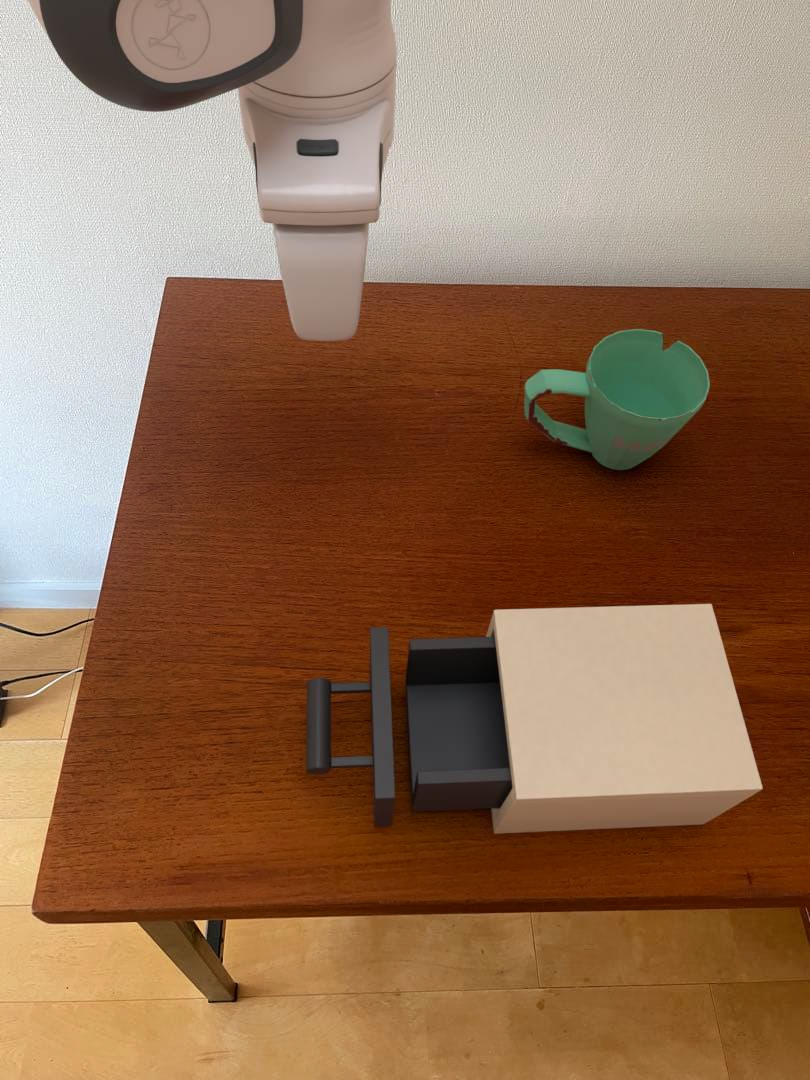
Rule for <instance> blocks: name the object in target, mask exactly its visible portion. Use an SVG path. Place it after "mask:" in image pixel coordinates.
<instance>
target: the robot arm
mask: <svg viewBox="0 0 810 1080" xmlns="http://www.w3.org/2000/svg"><path fill="white" fill-rule="evenodd" d="M27 2H28V4H29V5H30V8H31V9H32V11H33V13H34V15H35V17H36V18H37V20H38V22H39V24H40V26H41V28H42V29H43V30H44V33H45V34H46V36H47V37H48V40H49V41H50V43H51V45H52V47H53V49H54V50H55V52H56V54H57V55H58V57H59V58H60V60H61V61H62V63H63V64H64V66H65V67H66V68H67V69H68V70H69V71H70V73H71V74H72V75H73V76H74V77H75V78H76V79H77V80H78V81H79V82H80V83H81V84H83V86H85V87H86V88H87V89H89V90H90V91H92V92H93V93H95V95H97V96H99V97H101V98H103V99H104V100H107V102H108V101H109V102H110V103H113V104H115V105H118V106H120V107H123V108H127V109H130V110H134V111H138V112H139V111H140V112H152V113H159V112H160V113H161V112H171V111H176V110H180V109H183V108H187V107H190V106H192V105H196V104H199V103H201V102H204V101H208V100H210V99H214V98H216V97H219V96H221V95H224V94H227V93H229V92H231V91H234V90H236V89H237V94H238V101H239V110H240V115H241V116H240V117H241V123H242V131H243V138H244V141H245V144H246V146H247V148H248V151H249V155H250V157H251V160H252V163H253V165H254V171H255V185H256V186H255V187H256V195H257V202H258V208H259V209H258V210H259V215H260V219H261V221H262V222H263V223H266V224H272V229H273V236H274V243H275V248H276V255H277V260H278V265H279V270H280V275H281V281H282V285H283V286H282V287H283V290H284V295H285V300H286V304H287V309H288V313H289V318H290V322H291V326H292V328H293V330H294V333H295V334H296V337H298V338H299V339H300V340H303V341H306V342H307V341H309V342H339V341H348V340H351V339H352V338H353V337H354V336H355V335H356V332H357V329H358V325H359V321H360V315H361V306H362V299H363V298H362V297H363V289H364V282H365V281H364V280H365V271H366V263H367V262H366V261H367V252H368V242H369V241H368V239H369V231H370V224H373V223H377V222H378V220H379V218H380V213H381V212H380V210H381V209H380V208H381V205H382V204H381V203H382V181H383V171H384V167H385V165H386V162H387V159H388V155H389V151H390V149H391V147H392V144H393V142H394V137H395V114H396V86H397V85H396V83H397V63H398V62H397V58H398V50H397V49H398V47H397V39H396V35H395V30H394V27H393V22H392V13H391V11H392V0H27Z"/></svg>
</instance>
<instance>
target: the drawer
mask: <svg viewBox="0 0 810 1080" xmlns="http://www.w3.org/2000/svg"><path fill="white" fill-rule="evenodd" d="M406 661H407V662H406V669H405V670H406V671H405V679H404V683H405V685H404V686H405V701H406V702H405V703H406V718H407V720H406V721H407V740H408V757H409V775H410V777H409V779H410V795H411V811H412V812H435V811H436V812H439V811H460V810H461V811H462V810H485V809H488V810H489V809H491V808H501V806H502V804H503V803H504V801H505V800H506V798H507V796H508V795H509V793H510V791H511V790H512V788H513V787H512V779H511V770H510V762H509V753H508V745H507V736H506V728H505V719H504V711H503V702H502V694H501V686H500V677H499V669H498V660H497V652H496V643H495V637H486V636H475V637H474V636H473V637H472V636H471V637H469V636H468V637H442V638H441V637H439V638H435V637H434V638H411V639H409V643H408V652H407V660H406ZM391 685H392V684H391V661H390V639H389V627H388V626H377V627H374V626H373V627H369V681H357V682H356V681H355V682H353V681H351V682H331V680H330V679H328V678H325V677H313V678H310V679H308V680H307V682H306V722H305V723H306V725H305V726H306V727H305V729H306V730H305V732H306V733H305V772H306V774H309V775H318V776H319V775H326V774H329V773H331V771H332V770H335V769H336V770H337V769H358V768H359V769H360V768H364V769H365V768H372V799H373V800H372V802H373V805H372V806H373V827H374V828H381V827H382V828H383V827H385V828H386V827H392V826H393V819H394V812H395V805H396V804H395V803H396V779H395V778H396V777H395V752H394V734H393V733H394V732H393V729H394V728H393V708H392V707H393V706H392V687H391ZM342 694H344V695H346V694H369V695H370V696H369V698H370V731H371V732H370V733H371V734H370V735H371V736H370V737H371V755H353V756H332V695H342Z"/></svg>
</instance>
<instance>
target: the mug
mask: <svg viewBox="0 0 810 1080" xmlns="http://www.w3.org/2000/svg"><path fill="white" fill-rule="evenodd" d="M664 340H665V339H664V334H663V332H660V331H657V330H653V329H652V330H651V329H642V328H633V329H624V330H618V331H616V332H614V333H611V334H608V335H606V336H604V337H603V338H602V339H601V340H600V341H599V342H598V343H597V344H596V345H594V346H593V349H592V351H591V353H590V355H589V358H588V359H587V363H586V367H585V372H582V371H576V370H575V371H574V370H568V369H559V368H558V369H552V368H551V369H540V370H539V371H538V372H536V373H535V374H534V375H532V376H531V377H530V378H528V379H527V380H526V382H525V384H524V404H523V405H524V407H523V410H524V411H523V412H524V418H525V419H526V420H527V421H528V422H529V423H530V424H531V425H532V426H534V427H535V428H536V429H537V430H539V431H540V432H541V433H542V434H543V435H545V436H546V437H547V438H548V439H549V440H550V441H551V442H552V443H555V444H559V445H563V446H566V447H570V448H573V449H577V450H581V451H585V452H588V453H591V455H592V457H593V458H594V459H595V460H596V462H598V463H599V464H600V465H601V466H603V467H605V468H608V469H611V470H616V471H626V470H630V469H632V468H634V467H637V466H639V464H641V463H643V462H645V461H646V460H648V459H649V458H651V457H652V456H653V455H655V454H656V453H657V452H658V451H659V450H661V449H662V448H664V447H665V446H666V445H667V444H668V443H669V442H670V441H671V440H672V438H674V437H675V436H676V435H677V433H678V432H679V431H680V430H681V429H682V428H683V427H684V426H685V425H686V424H688V422H689V421H690V420H691V419H692V418H693V417H694V416H695V415H696V414H697V413H698V412H699V411H700V410H701V408H702V407H703V406H704V404H705V402H706V400H707V397H708V395H709V391H710V387H711V382H710V372H709V371H708V368H707V366H706V365H705V363H704V361H703V359H702V357H700V356H699V355H698V354H697V352H695V351H694V350H693V349H692V347H690V345H688V344H686V343H684V342H682V341H681V340H678V339H677V340H675V341H674V342H673V343H672V344H671V345H670V346H669V347H667V348H665V349H664V342H665V341H664ZM560 394H561V395H562V394H563V395H570V396H577V397H582V398H584V422H585V423H584V424H585V428H583V427H582V428H581V427H578V426H575V425H572V424H571V425H570V424H567V423H564V422H561V421H557V420H555V419H552V418H551V417H550V416H549V415H548V414H547V413H546V412H545V411H544V410H543V409H542V408H541V407H540V406H539V405H538V404H537V400H539V399H540V398H542V397H543V396H545V395H560Z"/></svg>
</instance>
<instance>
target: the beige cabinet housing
mask: <svg viewBox="0 0 810 1080" xmlns="http://www.w3.org/2000/svg"><path fill="white" fill-rule="evenodd" d="M485 637H495V643H496V652H497V660H498V669H499V677H500V686H501V694H502V702H503V711H504V719H505V728H506V736H507V745H508V753H509V762H510V770H511V779H512V787H513V788H512V790H511V791H510V793H509V795H508V796H507V798H506V800H505V801H504V803H503V804H502V806H501V808H490V810H491V818H492V819H491V820H492V829H493V834H495V835H497V834H517V833H518V834H519V833H540V832H541V833H542V832H563V831H583V830H585V831H586V830H607V829H608V830H609V829H630V828H631V829H632V828H633V829H634V828H652V827H677V826H678V827H679V826H696V825H697V826H698V825H705V824H706V823H708V822H710V821H712V820H714V819H716V818H717V817H719V816H720V815H722V814H723V813H725V812H727V811H729V810H731V809H732V808H733V807H735V806H737V805H739V804H740V803H742V802H744V801H746V800H747V799H748V798H750V797H752V796H754V795H755V794H757V793H759V792H760V791H762V790H763V789H764V788H763V784H762V781H761V777H760V773H759V771H758V766H757V762H756V759H755V756H754V751H753V748H752V745H751V741H750V737H749V733H748V730H747V727H746V723H745V719H744V716H743V715H744V714H743V712H742V708H741V705H740V702H739V698H738V694H737V691H736V687H735V684H734V679H733V676H732V672H731V669H730V665H729V662H728V658H727V654H726V650H725V647H724V643H723V640H722V636H721V633H720V629H719V625H718V622H717V618H716V614H715V612H714V608H713V604H712V603H696V604H695V603H694V604H693V603H691V604H686V603H685V604H653V605H651V604H650V605H614V606H581V607H579V606H577V607H544V608H543V607H542V608H541V607H540V608H509V609H508V608H507V609H506V608H505V609H504V608H503V609H494V610H493V612H492V616H491V619H490V622H489V625H488V629H487V632H486V635H485Z"/></svg>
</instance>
